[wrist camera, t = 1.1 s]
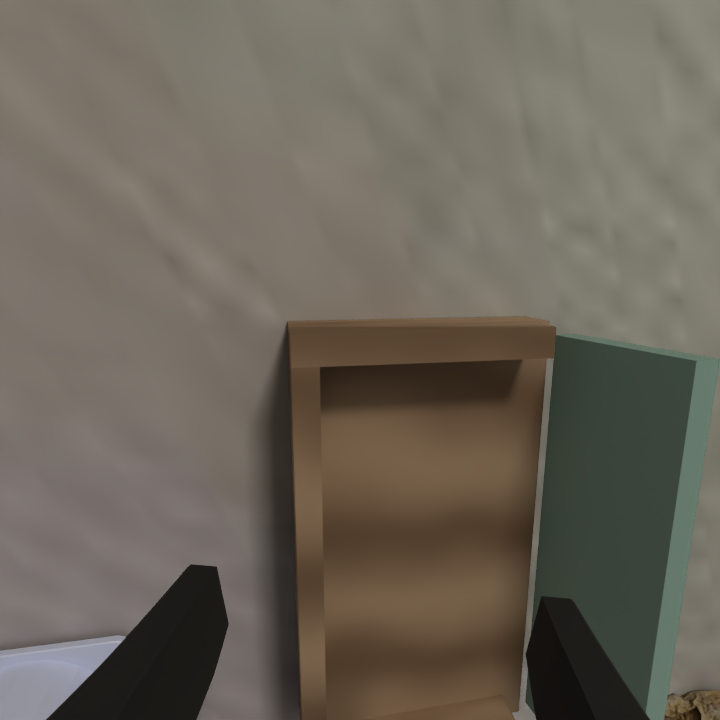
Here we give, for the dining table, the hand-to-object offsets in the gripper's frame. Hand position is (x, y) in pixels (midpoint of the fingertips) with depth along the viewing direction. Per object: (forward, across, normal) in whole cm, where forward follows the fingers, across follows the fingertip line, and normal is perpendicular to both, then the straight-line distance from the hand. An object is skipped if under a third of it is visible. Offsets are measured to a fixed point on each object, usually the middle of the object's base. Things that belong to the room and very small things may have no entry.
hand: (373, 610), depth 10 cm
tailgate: (+10, -8, +7) cm, 14 cm away
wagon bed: (+10, -1, +7) cm, 12 cm away
